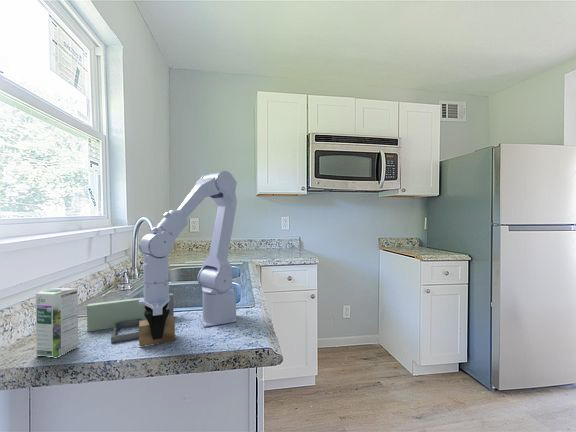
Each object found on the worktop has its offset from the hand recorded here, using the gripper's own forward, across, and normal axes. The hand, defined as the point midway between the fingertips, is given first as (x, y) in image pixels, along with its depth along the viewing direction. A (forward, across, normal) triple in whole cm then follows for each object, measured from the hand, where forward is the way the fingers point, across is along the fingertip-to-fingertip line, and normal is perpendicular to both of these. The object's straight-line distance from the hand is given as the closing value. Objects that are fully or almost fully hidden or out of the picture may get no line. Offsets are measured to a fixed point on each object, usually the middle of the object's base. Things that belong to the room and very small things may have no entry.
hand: (157, 335), depth 74 cm
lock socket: (+1, -9, -7) cm, 11 cm away
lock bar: (+1, 0, 0) cm, 1 cm away
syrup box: (+2, -4, -21) cm, 21 cm away
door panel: (+1, -16, -6) cm, 17 cm away
